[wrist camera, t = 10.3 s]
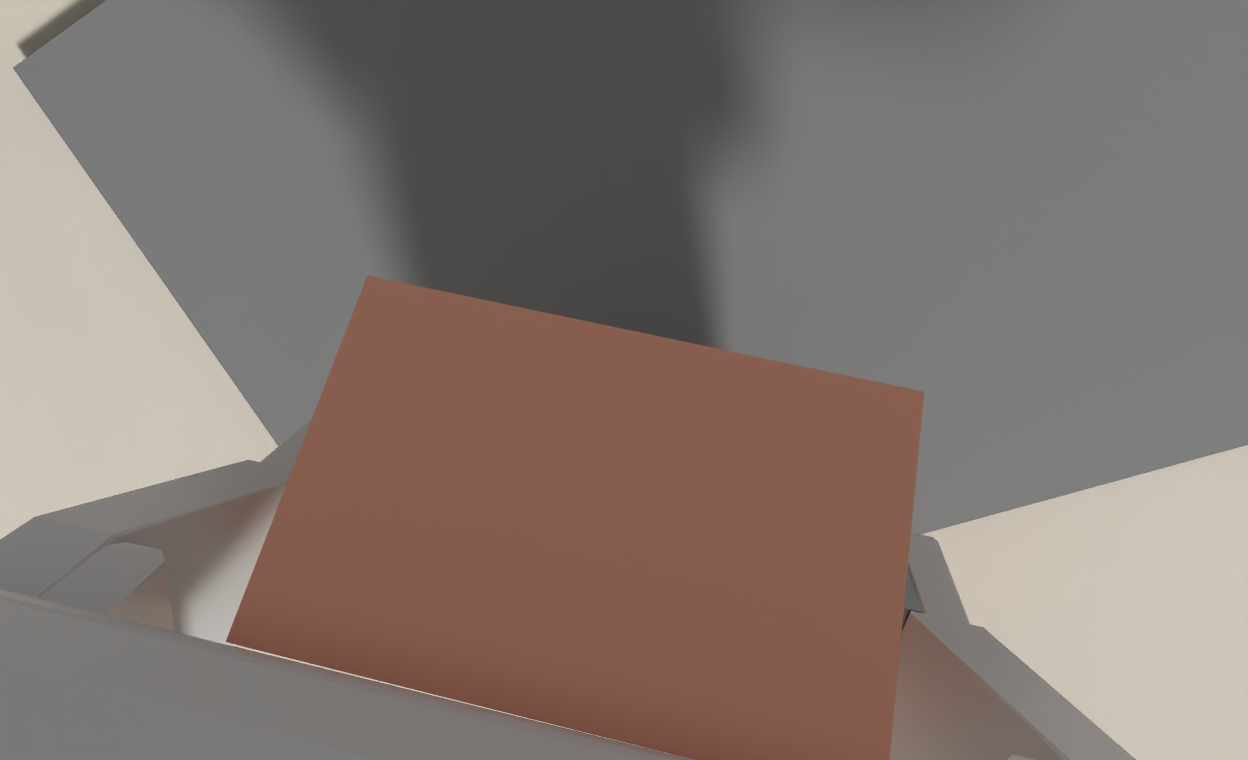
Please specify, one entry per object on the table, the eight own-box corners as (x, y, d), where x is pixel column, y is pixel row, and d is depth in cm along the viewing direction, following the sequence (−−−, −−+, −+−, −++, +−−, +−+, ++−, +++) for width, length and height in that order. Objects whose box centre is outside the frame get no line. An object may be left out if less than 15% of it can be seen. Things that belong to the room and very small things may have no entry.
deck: (716, 710, 15) (884, 815, 5) (472, 650, 15) (222, 649, 6) (744, 544, 16) (924, 385, 6) (516, 492, 16) (368, 270, 7)
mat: (1140, -730, 9) (1156, -763, 8) (1323, 409, 14) (1339, 419, 13) (30, 67, 15) (13, 67, 14) (439, 656, 20) (434, 667, 19)
